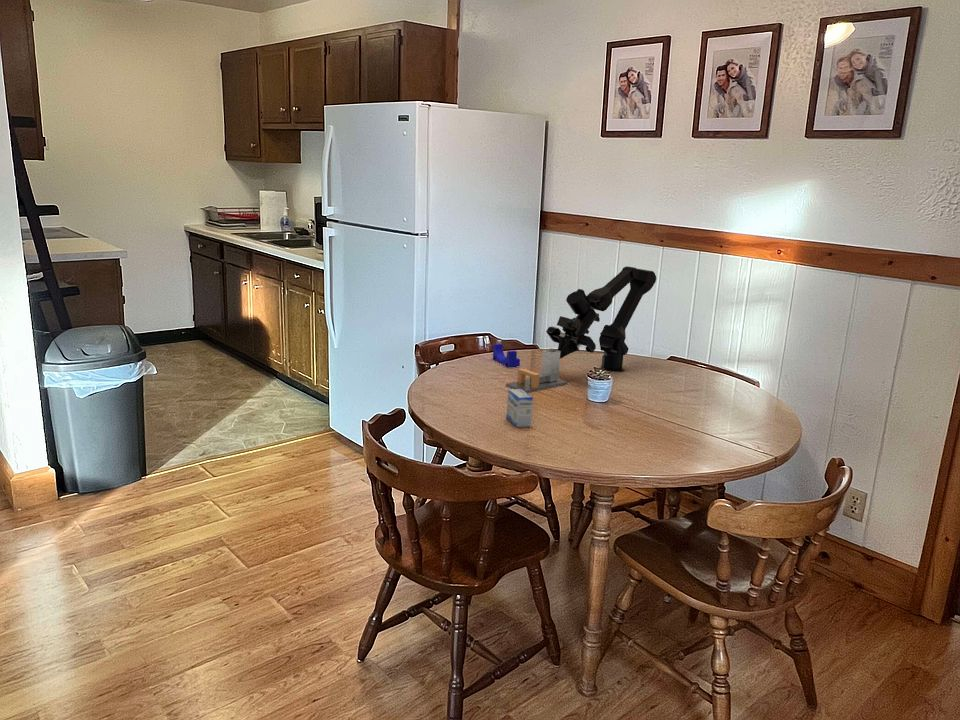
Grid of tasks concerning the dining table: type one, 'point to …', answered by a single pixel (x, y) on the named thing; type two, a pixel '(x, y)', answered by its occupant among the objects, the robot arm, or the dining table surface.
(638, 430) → the dining table surface
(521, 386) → the grey flat plate
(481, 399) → the dining table surface
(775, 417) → the dining table surface
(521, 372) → the lug
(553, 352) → the latch
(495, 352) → the cable clip
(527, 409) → the medicine box
